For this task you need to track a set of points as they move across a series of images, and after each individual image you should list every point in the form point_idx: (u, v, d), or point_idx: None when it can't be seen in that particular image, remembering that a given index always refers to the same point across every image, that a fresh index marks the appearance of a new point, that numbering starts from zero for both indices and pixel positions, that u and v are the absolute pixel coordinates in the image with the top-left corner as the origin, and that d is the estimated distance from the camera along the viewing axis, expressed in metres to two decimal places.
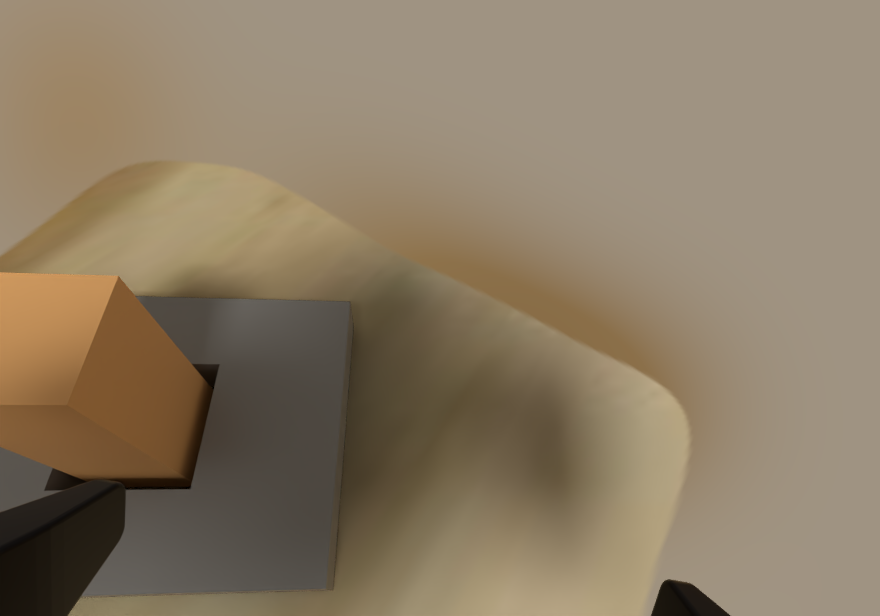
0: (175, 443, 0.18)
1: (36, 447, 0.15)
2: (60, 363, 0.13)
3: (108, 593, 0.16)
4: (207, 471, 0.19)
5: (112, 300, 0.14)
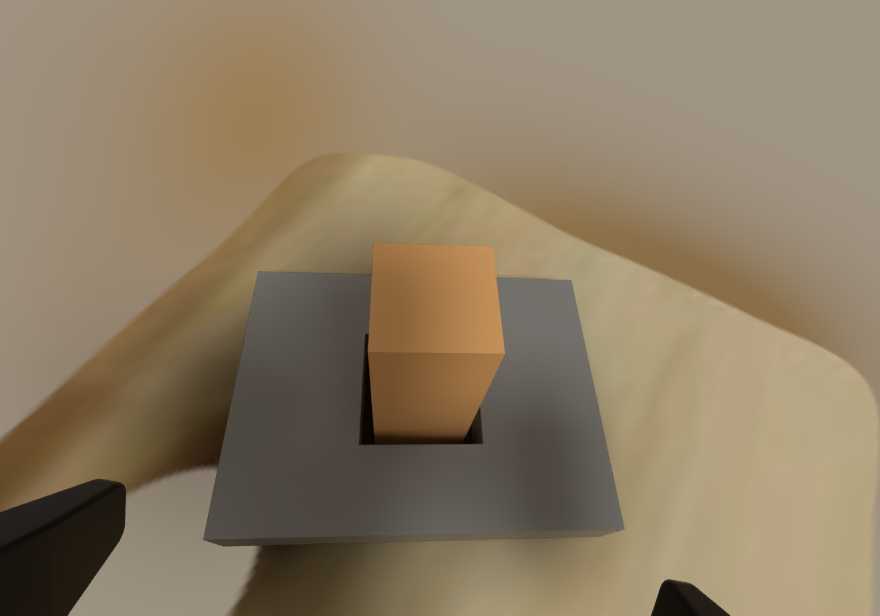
0: None
1: (399, 400, 0.17)
2: (482, 319, 0.15)
3: (441, 532, 0.18)
4: (493, 428, 0.21)
5: (494, 267, 0.16)
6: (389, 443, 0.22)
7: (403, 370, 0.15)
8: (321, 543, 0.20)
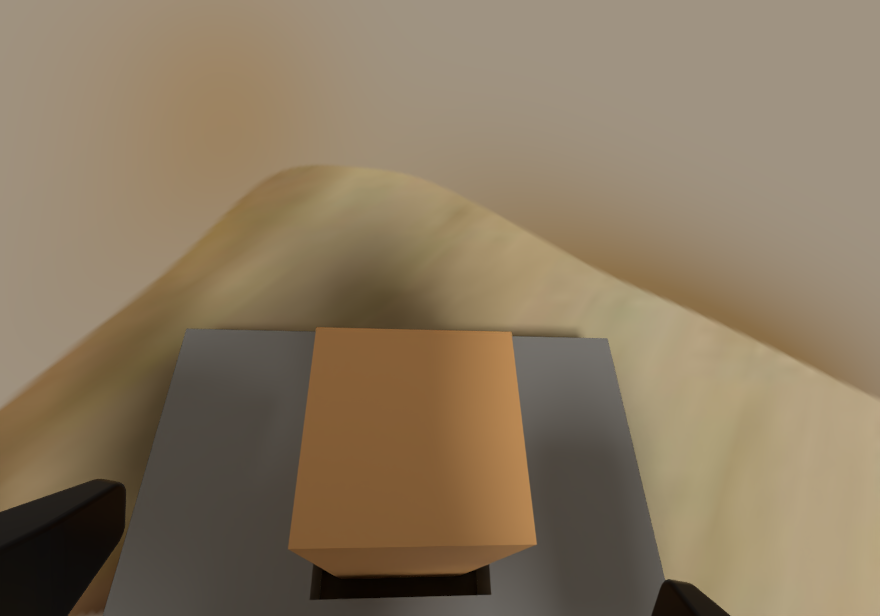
0: None
1: (362, 565, 0.11)
2: (496, 473, 0.08)
3: None
4: (505, 569, 0.14)
5: (513, 367, 0.10)
6: (359, 577, 0.16)
7: (359, 554, 0.09)
8: None
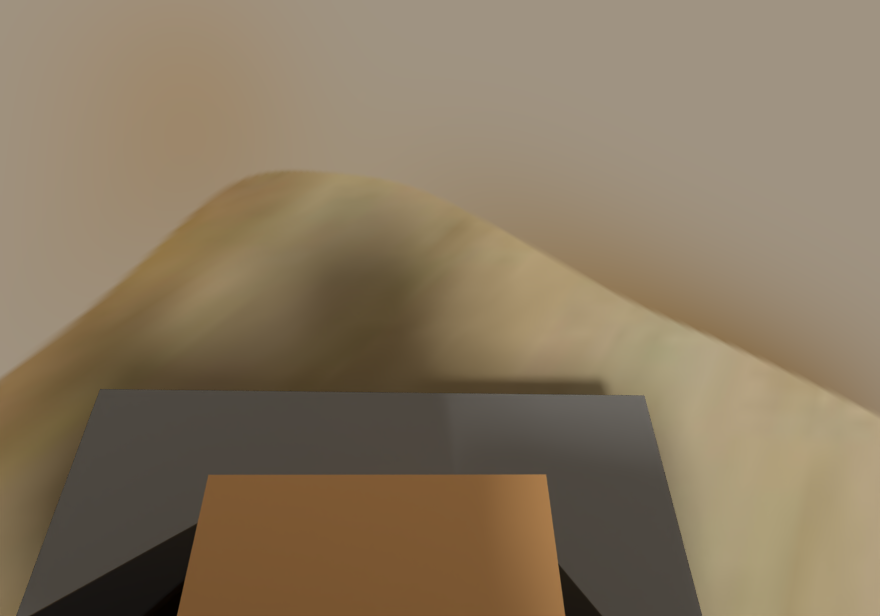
0: None
1: None
2: None
3: None
4: None
5: (551, 543, 0.06)
6: None
7: None
8: None
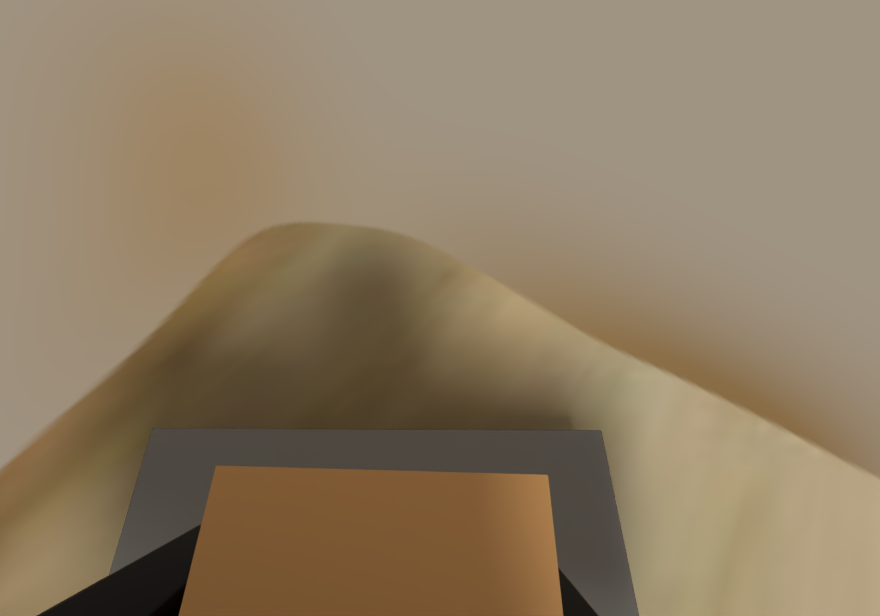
0: None
1: None
2: None
3: None
4: None
5: (551, 543, 0.06)
6: None
7: None
8: None
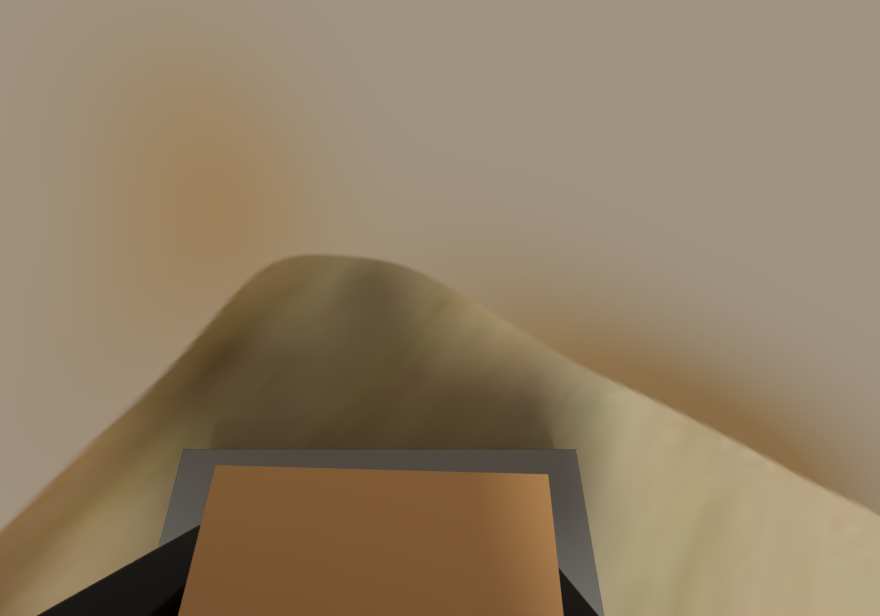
0: None
1: None
2: None
3: None
4: None
5: (552, 543, 0.06)
6: None
7: None
8: None
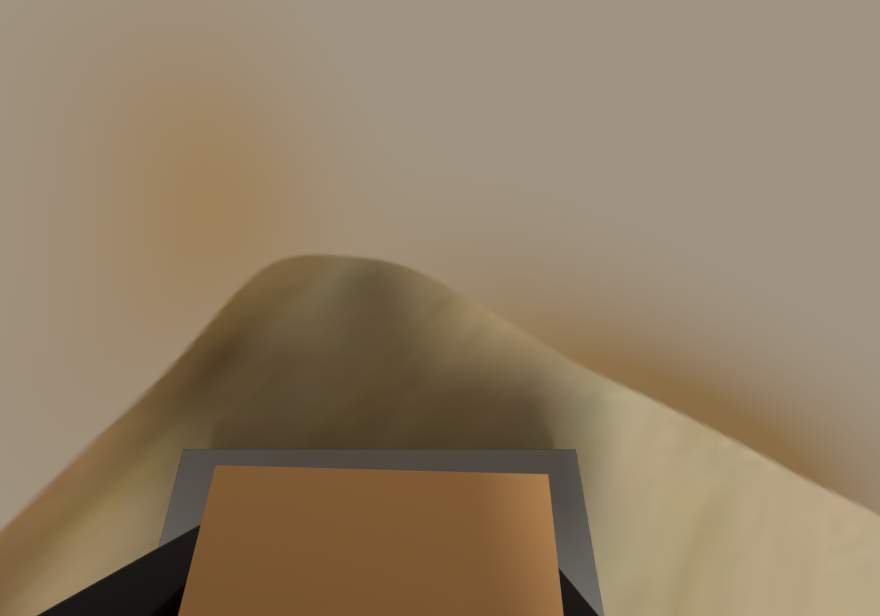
0: None
1: None
2: None
3: None
4: None
5: (552, 542, 0.06)
6: None
7: None
8: None
